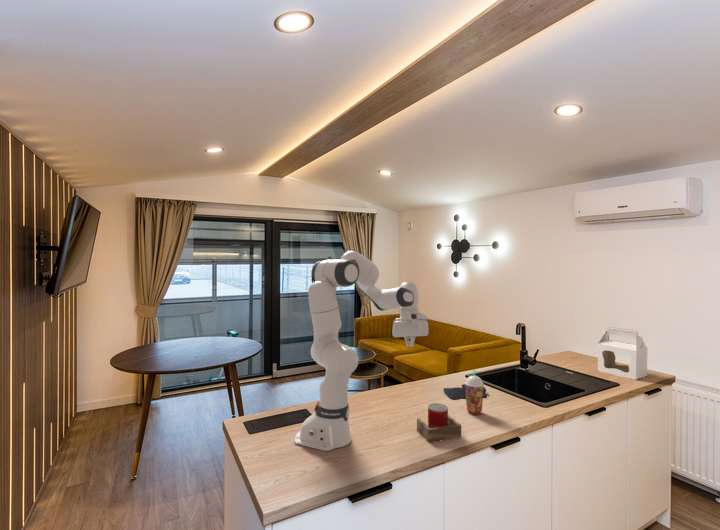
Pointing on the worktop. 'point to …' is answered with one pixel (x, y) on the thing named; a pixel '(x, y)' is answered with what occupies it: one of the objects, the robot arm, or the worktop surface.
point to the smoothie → (474, 394)
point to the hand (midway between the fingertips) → (409, 346)
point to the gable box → (636, 353)
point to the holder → (439, 430)
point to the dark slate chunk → (459, 392)
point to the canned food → (437, 415)
